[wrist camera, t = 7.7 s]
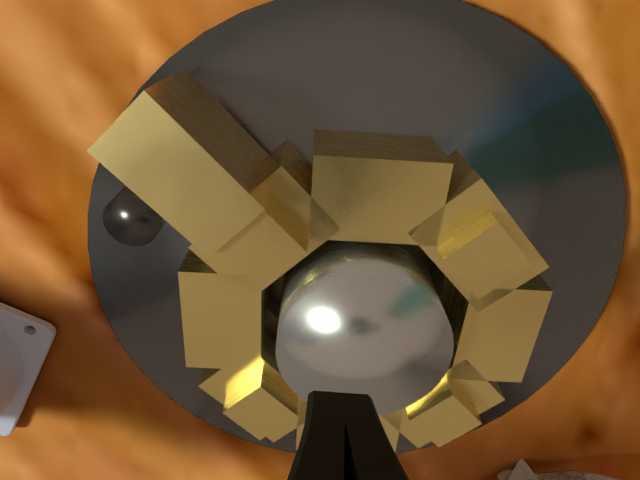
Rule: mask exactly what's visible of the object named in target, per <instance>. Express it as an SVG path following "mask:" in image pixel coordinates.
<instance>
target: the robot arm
mask: <svg viewBox="0 0 640 480" xmlns="http://www.w3.org/2000/svg"><path fill="white" fill-rule="evenodd" d="M30 326H32V327H34V328H35V329H32V328H31V327H30ZM55 335H56V329H55V327H54V326H53V325H52V324H50V323H49V322H46V321H44V320H42V319H39V318H37V317H34V316H32V315H30V314H27V313H25V312H22V311H20V310H18V309H15V308H13V307H11V306H8V305H6V304H3V303H1V302H0V435H1V436H7V435H10V434H11V433H12V432H13V430H14V429H15V427H16V425H17V422H18V420H19V418H20V415H21V413H22V411H23V409H24V406H25V404H26V402H27V399H28V397H29V395H30V393H31V390H32V388H33V386H34V383H35V381H36V379H37V377H38V374H39V372H40V370H41V367H42V365H43V363H44V361H45V358H46V356H47V354H48V351H49V349H50V347H51V345H52V342H53V340H54V338H55ZM287 480H409V479H408V477H407V475H406V473H405V472H404V470H403V468H402V466H401V464H400V462H399V460H398V458H397V456H396V454H395V452H394V450H393V448H392V446H391V443H390V441H389V439H388V437H387V435H386V433H385V430H384V428H383V426H382V423H381V421H380V419H379V416H378V414H377V411H376V409H375V406H374V403H373V401H372V398H371V397H370V396H369V395H368V394H355V393H341V392H327V391H312V392H311V393H309V394H308V399H307V407H306V415H305V423H304V428H303V432H302V436H301V439H300V443H299V446H298V449H297V452H296V456H295V459H294V462H293V465H292V468H291V471H290V474H289V476H288V479H287Z"/></svg>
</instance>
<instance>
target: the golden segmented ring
mask: <svg viewBox="0 0 640 480" xmlns="http://www.w3.org/2000/svg"><path fill="white" fill-rule="evenodd" d="M87 152H88V153H89V154H90V155H92V156H93V157H94V158H95V159H96V160H97V161H98V162H100V163H101V164H102V165H103V166H104V167H105V168H106V169H108V170H109V171H110V172H111V173H112V174H113V175H114V176H116V177H117V178H118V179H119V180H120V181H121V182H122V183H123V184H125V185H126V186H127V187H128V188H129V189H130V190H131V191H133V192H134V193H135V194H136V195H137V196H138V197H139V198H141V199H142V200H143V201H144V202H145V203H146V204H147V205H149V206H150V207H151V208H152V209H153V210H154V211H155V212H157V213H158V214H159V215H160V216H161V217H162V218H163V219H164V220H166V221H167V222H168V223H169V224H170V225H171V226H172V227H174V228H175V229H176V230H177V231H178V232H179V233H180V234H182V235H183V236H184V237H185V238H186V239H187V240H188V241H190V242H191V243H190V245H189V247H188V248H189V250H188V252H187V254H186V256H185V258H184V260H183V262H182V264H181V266H180V268H179V270H178V279H179V291H180V303H181V314H182V326H183V337H184V349H185V361H186V367H194V368H203V371H202V375H201V378H200V381H199V385H198V387H200V388H201V389H202V390H204V391H205V392H206V393H208V394H209V395H211V396H212V397H213V398H215V399H216V400H217V401H219V402H220V403H221V404H223V405H224V408H223V412H222V413H223V414H225V415H226V416H227V417H229V418H230V419H231V420H233V421H234V422H235V423H237V424H238V425H240V426H241V427H242V428H244V429H245V430H246V431H248V432H249V433H250V434H252V435H253V436H254V437H256V438H257V439H259V440H261V439H263V438H264V437H267V438H268V439H270V440H271V441H272V442H275V441H277V440H278V439H280V438H281V437H283V436H285V435H286V434H288V433H289V432H291V431H292V430H294V429H296V428H297V436H296V450H297V449H298V446H299V443H300V439H301V436H302V432H303V428H304V423H305V415H306V407H307V402H306V401H304V400H303V399H301V398H300V397H299V396H298V395H297V394H295V393H294V392H293V391H292V390H291V388H290V387H289V386H288V385H287V384H286V382H285V381H284V379H283V377H282V375H281V373H280V371H279V368H278V365H277V361H276V353H275V351H276V338H277V330H278V322H279V319H278V318H277V317H275V316H274V315H273V314H272V313H271V312H270V311H269V310H268V296H269V285H270V284H271V283H273V282H274V281H275V280H277V279H278V278H279V277H280V276H282V275H283V274H284V273H286V272H287V271H288V270H289V269H291V268H292V267H293V266H295V265H296V264H297V263H298V262H300V261H301V260H302V259H304V258H305V257H306V256H307V255H309V254H310V253H311V252H313V251H314V250H315V249H316V248H318V247H319V246H320V245H322V244H323V243H324V242H326V241H327V240H338V241H356V242H374V243H392V244H410V245H419V246H420V247H421V249H422V250H423V251H424V252H425V253H426V254H427V255H428V256H429V258H430V259H431V260H432V261H433V262H434V263H435V264H436V265H437V267H438V268H439V269H440V270H441V271H442V272H443V273H444V274H445V275H444V280H443V284H442V289H441V293H440V300H441V303H442V305H443V308H444V310H445V313H446V315H447V318H448V320H449V323H450V325H451V329H452V333H453V339H454V349H453V356H452V359H451V363H450V365H449V368H448V370H447V372H446V374H445V375H444V377H443V378H442V380H441V381H440V382H439V383H438V385H437V386H436V387H435V388H434V389H433V390H432V391H431V392H430V393H428V394H427V395H426V396H424V397H423V398H422V399H420V400H419V401H417V402H415V403H414V404H412V405H410V406H408V407H405V408H403V409H401V410H398V411H395V412H392V413H388V414H383V415H378V416H379V419H380V421H381V423H382V426H383V428H384V430H385V433H386V435H387V437H388V439H389V441H390V443H391V446H392V448H393V450H394V452H395V451H396V446H397V441H398V436H399V432H400V433H401V434H403V435H404V436H405V437H406V438H407V439H408V440H409V441H411V442H412V443H413V444H414V445H415V446H416V447H417V448H420V447H422V446H423V445H425V444H427V443H429V442H431V441H432V442H433V443H434V444H435V445H436V446H438V447H441V446H443V445H445V444H447V443H448V442H450V441H452V440H454V439H456V438H458V437H459V436H461V435H463V434H465V433H467V432H468V431H470V430H472V429H474V428H476V427H478V426H479V425H481V424H482V422H481V420H480V417H479V414H481V413H483V412H484V411H486V410H488V409H490V408H492V407H493V406H495V405H497V404H499V403H500V402H502V401H504V400H505V398H504V396H503V394H502V392H501V390H500V387H499V385H498V383H497V381H500V382H522V379H523V376H524V373H525V370H526V368H527V365H528V362H529V359H530V356H531V353H532V350H533V347H534V345H535V342H536V339H537V336H538V333H539V330H540V327H541V324H542V322H543V319H544V316H545V313H546V310H547V307H548V304H549V301H550V299H551V296H552V293H553V291H552V289H551V288H550V287H549V286H548V284H547V283H546V282H545V281H544V279H543V278H542V277H541V275H540V273H541V272H543V271H544V270H546V269H548V268H549V266H548V265H547V263H546V262H545V261H544V259H543V258H542V257H541V255H540V254H539V253H538V251H537V250H536V249H535V247H534V246H533V245H532V243H531V242H530V241H529V240H528V238H527V237H526V236H525V234H524V233H523V232H522V230H521V229H520V228H519V226H518V225H517V224H516V222H515V221H514V220H513V219H512V217H511V216H510V215H509V213H508V212H507V211H506V209H505V208H504V207H503V205H502V204H501V203H500V201H499V200H498V199H497V198H496V196H495V195H494V194H493V192H492V191H491V190H490V188H489V187H488V186H487V184H486V183H485V182H484V180H483V179H482V178H481V177H480V176H479V174H478V173H477V172H476V171H475V170H474V169H473V168H472V167H471V165H470V164H469V163H468V162H467V161H466V160H465V159H464V158H463V156H462V155H461V154H460V153H459V152H458V151H457V150H455V151H453V152H452V153H451V154H449V155H448V156H447V155H446V153H445V152H444V151H443V150H442V148H441V147H440V146H439V145H438V143H437V142H436V141H435V140H434V138H433V137H427V136H411V135H396V134H380V133H364V132H348V131H332V130H316V129H314V142H313V159H312V165H311V164H310V163H309V162H308V161H307V160H306V159H305V157H304V156H303V155H302V154H301V153H300V152H299V151H298V150H297V149H296V148H295V147H294V146H293V144H292V143H291V142H290V141H289V140H288V139H286V140H285V141H284V142H283V143H282V144H281V145H280V146H279V147H277V148H276V149H275V150H274V151H273V152H272V153H271V154H270V155H269V154H268V153H267V152H266V151H265V150H264V149H263V148H262V147H261V146H260V145H259V144H258V143H257V142H256V141H255V140H254V139H253V138H252V137H251V136H250V135H249V134H248V133H247V131H246V130H245V129H244V128H243V127H242V126H241V125H240V124H239V123H238V122H237V121H236V120H235V119H234V118H233V117H232V116H231V115H230V114H229V113H228V112H227V111H226V110H225V109H224V108H223V106H222V105H221V104H220V103H219V102H218V101H217V100H216V99H215V98H214V97H213V96H212V95H211V94H210V93H209V92H208V91H207V90H206V89H205V88H204V87H203V86H202V85H201V84H200V82H199V81H198V80H197V79H196V78H195V77H194V76H193V75H192V74H191V73H190V72H189V71H188V70H187V69H186V68H183V69H181V70H179V71H177V72H176V73H174V74H172V75H170V76H168V77H167V78H165V79H163V80H161V81H159V82H158V83H156V84H154V85H152V86H151V87H149V88H147V89H145V90H144V91H143V92H142V93H141V94H140V95H139V96H138V97H137V98H136V99H135V100H134V101H133V102H132V103H131V104H130V106H129V107H128V108H127V109H126V110H125V111H124V112H123V113H122V114H121V115H120V116H119V117H118V118H117V119H116V120H115V122H114V123H113V124H112V125H111V126H110V127H109V128H108V129H107V130H106V131H105V132H104V133H103V134H102V135H101V136H100V138H99V139H98V140H97V141H96V142H95V143H94V144H93V145H92V146H91V147H90V148H89V149H88V150H87Z"/></svg>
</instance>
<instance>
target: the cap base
mask: <svg viewBox="0 0 640 480" xmlns="http://www.w3.org/2000/svg"><path fill="white" fill-rule="evenodd" d="M183 68H186V69H187V70H188V71H189V72H190V73H191V74H192V75H193V76H194V77H195V78H196V79H197V80H198V81H199V82H200V84H201V85H202V86H203V87H204V88H205V89H206V90H207V91H208V92H209V93H210V94H211V95H212V96H213V97H214V98H215V99H216V100H217V101H218V102H219V103H220V104H221V105H222V106H223V108H224V109H225V110H226V111H227V112H228V113H229V114H230V115H231V116H232V117H233V118H234V119H235V120H236V121H237V122H238V123H239V124H240V125H241V126H242V127H243V128H244V129H245V130H246V131H247V133H248V134H249V135H250V136H251V137H252V138H253V139H254V140H255V141H256V142H257V143H258V144H259V145H260V146H261V147H262V148H263V149H264V150H265V151H266V152H267V153H268V154H269V155H270V154H271V153H272V152H273V151H274V150H275V149H276V148H277V147H279V146H280V145H281V144H282V143H283V142H284V141H285V140H286V139H288V140H289V141H290V142H291V143H292V144H293V146H294V147H295V148H296V149H297V150H298V151H299V152H300V153H301V154H302V155H303V156H304V157H305V159H306V160H307V161H308V162H309V163H310V164H311V165H312V159H313V142H314V129H316V130H332V131H348V132H364V133H380V134H396V135H411V136H427V137H433V138H434V140H435V141H436V142H437V143H438V145H439V146H440V147H441V148H442V150H443V151H444V152H445V153H446V155H447V156H448V155H449V154H451V153H452V152H453V151H455V150H457V151H458V152H459V153H460V154H461V155H462V156H463V158H464V159H465V160H466V161H467V162H468V163H469V164H470V165H471V167H472V168H473V169H474V170H475V171H476V172H477V173H478V174H479V176H480V177H481V178H482V179H483V180H484V182H485V183H486V184H487V186H488V187H489V188H490V190H491V191H492V192H493V194H494V195H495V196H496V198H497V199H498V200H499V201H500V203H501V204H502V205H503V207H504V208H505V209H506V211H507V212H508V213H509V215H510V216H511V217H512V219H513V220H514V221H515V222H516V224H517V225H518V226H519V228H520V229H521V230H522V232H523V233H524V234H525V236H526V237H527V238H528V240H529V241H530V242H531V243H532V245H533V246H534V247H535V249H536V250H537V251H538V253H539V254H540V255H541V257H542V258H543V259H544V261H545V262H546V263H547V265H548V266H549V268H548V269H546V270H544V271H543V272H541V273H540V275H541V277H542V278H543V279H544V281H545V282H546V283H547V284H548V286H549V287H550V288H551V289H552V291H553V293H552V296H551V299H550V301H549V304H548V307H547V310H546V313H545V316H544V319H543V322H542V324H541V327H540V330H539V333H538V336H537V339H536V342H535V345H534V347H533V350H532V353H531V356H530V359H529V362H528V365H527V368H526V370H525V373H524V376H523V379H522V382H500V381H497V383H498V385H499V387H500V390H501V392H502V394H503V396H504V398H505V400H504V401H502V402H500V403H499V404H497V405H495V406H493V407H492V408H490V409H488V410H486V411H484V412H483V413H481V414H479V417H480V420H481V422H482V424H481V425H479V426H478V427H476V428H474V429H472V430H470V431H473V430H475V429H478V428H480V427H481V426H483V425H485V424H487V423H489V422H491V421H493V420H495V419H497V418H498V417H500V416H502V415H504V414H505V413H507V412H508V411H510V410H511V409H513V408H514V407H516V406H517V405H519V404H520V403H522V402H523V401H525V400H526V399H528V398H529V397H530V396H531V395H532V394H534V393H535V392H536V391H537V390H538V389H540V388H541V387H542V386H543V385H545V384H546V383H547V382H548V381H549V380H550V379H551V378H552V377H553V376H554V375H555V374H556V373H557V372H558V371H559V370H560V369H561V368H562V367H563V366H564V365H565V364H566V363H567V362H568V361H569V360H570V358H571V357H572V356H573V354H574V353H575V352H576V351H577V349H578V348H579V347H580V345H581V344H582V343H583V342H584V340H585V339H586V338H587V336H588V334H589V333H590V331H591V329H592V328H593V326H594V324H595V323H596V321H597V319H598V318H599V316H600V314H601V313H602V311H603V308H604V306H605V304H606V302H607V299H608V297H609V295H610V292H611V290H612V288H613V286H614V282H615V279H616V275H617V272H618V268H619V265H620V261H621V258H622V253H623V245H624V238H625V230H626V192H625V187H624V181H623V176H622V170H621V165H620V159H619V157H618V154H617V151H616V148H615V146H614V143H613V140H612V137H611V134H610V132H609V129H608V126H607V125H606V123H605V121H604V119H603V118H602V116H601V114H600V112H599V110H598V109H597V107H596V105H595V103H594V102H593V100H592V98H591V96H590V95H589V94H588V92H587V91H586V90H585V89H584V87H583V86H582V85H581V84H580V82H579V81H578V80H577V79H576V77H575V76H574V75H573V74H572V73H571V71H570V70H569V69H568V68H567V66H566V65H564V64H563V63H562V62H561V61H560V60H559V59H558V58H557V57H555V56H554V55H553V54H552V53H551V52H550V51H549V50H548V49H546V48H545V47H544V46H543V45H542V44H541V43H540V42H538V41H537V40H536V39H534V38H533V37H531V36H530V35H528V34H527V33H525V32H523V31H522V30H520V29H519V28H517V27H515V26H514V25H512V24H511V23H509V22H507V21H506V20H504V19H503V18H501V17H498V16H496V15H494V14H491V13H489V12H487V11H484V10H482V9H480V8H477V7H475V6H473V5H470V4H468V3H466V2H463V1H460V0H274V1H271V2H268V3H266V4H263V5H260V6H257V7H254V8H252V9H249V10H246V11H243V12H241V13H239V14H237V15H235V16H233V17H232V18H230V19H228V20H226V21H224V22H222V23H220V24H219V25H217V26H215V27H213V28H211V29H209V30H207V31H206V32H204V33H202V34H201V35H200V36H198V37H197V38H196V39H194V40H193V41H192V42H190V43H189V44H188V45H186V46H185V47H184V48H182V49H181V50H180V51H178V52H177V53H176V54H174V55H173V56H172V57H170V58H169V59H168V60H167V61H166V62H165V63H164V64H163V65H162V66H161V67H160V68H159V69H158V70H157V71H156V72H155V73H154V74H153V75H152V76H151V77H150V78H149V80H148V81H147V82H146V83H145V84H144V85H143V86H142V87H141V88H140V89H139V91H138V92H137V94H136V95H135V96H134V98H133V99H132V101H131V102H130V103H129V105H128V106H127V108H128V107H129V106H130V104H131V103H132V102H133V101H134V100H135V99H136V98H137V97H138V96H139V95H140V94H141V93H142V92H143V91H144V90H145V89H147V88H149V87H151V86H152V85H154V84H156V83H158V82H159V81H161V80H163V79H165V78H167V77H168V76H170V75H172V74H174V73H176V72H177V71H179V70H181V69H183ZM127 108H126V109H127ZM126 109H125V110H126ZM125 110H124V111H125ZM125 186H126V185H125V184H123V183H122V182H121V181H120V180H119V179H118V178H117V177H116V176H114V175H113V174H112V173H111V172H110V171H109V170H108V169H106V168H105V167H104V166H103V165H102V164H101V163H100V162H99V164H98V168H97V171H96V174H95V177H94V180H93V184H92V190H91V197H90V204H89V210H88V251H89V258H90V264H91V270H92V276H93V280H94V283H95V287H96V290H97V293H98V296H99V299H100V303H101V306H102V308H103V310H104V312H105V314H106V316H107V318H108V321H109V323H110V325H111V327H112V329H113V331H114V333H115V334H116V336H117V337H118V339H119V341H120V342H121V344H122V345H123V347H124V348H125V350H126V351H127V353H128V354H129V356H130V357H131V358H132V359H133V361H134V362H135V363H136V364H137V365H138V366H139V368H140V369H141V370H142V371H143V372H144V374H145V375H146V376H147V377H148V378H149V379H150V380H151V381H152V382H153V383H154V384H155V385H157V386H158V387H159V388H160V389H161V390H162V391H163V392H164V393H165V394H166V395H167V396H169V397H170V398H171V399H173V400H174V401H175V402H177V403H178V404H179V405H181V406H182V407H183V408H185V409H186V410H188V411H189V412H190V413H192V414H194V415H195V416H197V417H199V418H201V419H202V420H204V421H206V422H207V423H209V424H211V425H213V426H215V427H217V428H219V429H221V430H223V431H226V432H228V433H230V434H232V435H234V436H237V437H239V438H242V439H245V440H248V441H251V442H254V443H257V444H259V445H262V446H266V447H270V448H274V449H279V450H283V451H287V452H292V453H296V452H297V450H296V436H297V428H296V429H294V430H292V431H291V432H289V433H288V434H286V435H285V436H283V437H281V438H280V439H278V440H277V441H275V442H272V441H271V440H270V439H268V438H267V437H264V438H263V439H261V440H259V439H257V438H256V437H254V436H253V435H252V434H250V433H249V432H248V431H246V430H245V429H244V428H242V427H241V426H240V425H238V424H237V423H235V422H234V421H233V420H231V419H230V418H229V417H227V416H226V415H225V414H223V413H222V412H223V408H224V405H223V404H221V403H220V402H219V401H217V400H216V399H215V398H213V397H212V396H211V395H209V394H208V393H206V392H205V391H204V390H202V389H201V388H200V387H198V385H199V381H200V378H201V375H202V371H203V368H194V367H186V361H185V349H184V337H183V326H182V314H181V303H180V291H179V279H178V270H179V268H180V266H181V264H182V262H183V260H184V258H185V256H186V254H187V252H188V250H189V248H188V247H189V245H190V243H191V242H190V241H188V240H187V239H186V238H185V237H184V236H183V235H182V234H180V233H179V232H178V231H177V230H176V229H175V228H174V227H172V226H171V225H170V224H169V223H168V222H167V221H166V222H165V224H164V225H163V227H162V228H161V230H160V231H159V233H158V234H157V236H156V237H155V239H154V240H153V241H152V242H150V243H149V244H146V245H144V246H138V247H134V246H128V245H124V244H122V243H120V242H118V241H117V240H115V239H114V238H113V237H112V236H111V235H110V234H109V233H108V232H107V230H106V228H105V226H104V223H103V212H104V209H105V207H106V205H107V204H108V203H109V202H110V201H111V200H112V199H113V198H114V197H115V196H116V195H117V194H118V193H119V192H120V191H121V190H122V189H123V188H124V187H125ZM444 275H445V274H444V273H443V272H442V271H441V270H440V269H439V268H438V267H437V265H436V264H435V263H434V262H433V261H432V260H431V259H430V258H429V256H428V255H427V254H426V253H425V252H424V251H423V250H422V249H421V247H420V246H419V245H410V244H392V243H374V242H356V241H338V240H327V241H326V242H324V243H323V244H322V245H320V246H319V247H318V248H316V249H315V250H314V251H313V252H311V253H310V254H309V255H307V256H306V257H305V258H304V259H302V260H301V261H300V262H298V263H297V264H296V265H295V266H293V267H292V268H291V269H289V270H288V271H287V272H286V273H284V274H283V275H282V276H280V277H279V278H278V279H277V280H275V281H274V282H273V283H271V284H270V285H269V296H268V310H269V311H270V312H271V313H272V314H273V315H274V316H275V317H277V318H278V319H279V322H278V330H277V338H276V351H275V353H276V361H277V365H278V368H279V371H280V373H281V375H282V377H283V379H284V381H285V382H286V384H287V385H288V386H289V387H290V388H291V390H292V391H293V392H294V393H295V394H297V395H298V396H299V397H300V398H301V399H303V400H304V401H306V402H307V399H308V394H309V393H311V392H312V391H327V392H341V393H355V394H368V395H369V396H370V397H371V398H372V401H373V403H374V406H375V409H376V411H377V414H378V415H383V414H388V413H392V412H395V411H398V410H401V409H403V408H405V407H408V406H410V405H412V404H414V403H415V402H417V401H419V400H420V399H422V398H423V397H424V396H426V395H427V394H428V393H430V392H431V391H432V390H433V389H434V388H435V387H436V386H437V385H438V383H439V382H440V381H441V380H442V378H443V377H444V375H445V374H446V372H447V370H448V368H449V365H450V363H451V359H452V356H453V349H454V339H453V333H452V329H451V325H450V323H449V320H448V318H447V315H446V313H445V310H444V308H443V305H442V303H441V300H440V293H441V289H442V284H443V280H444ZM470 431H468V432H470ZM468 432H467V433H468ZM465 434H466V433H465ZM432 445H435V444H434V443H433V442H432V441H431V442H429V443H427V444H425V445H423V446H422V447H420V448H417V447H416V446H415V445H414V444H413V443H412V442H411V441H409V440H408V439H407V438H406V437H405V436H404V435H403V434H401V433H400V432H399V436H398V441H397V446H396V451H395V454H396V453H402V452H407V451H411V450H416V449H421V448H425V447H428V446H432Z"/></svg>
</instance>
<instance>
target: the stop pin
mask: <svg viewBox="0 0 640 480" xmlns="http://www.w3.org/2000/svg"><path fill="white" fill-rule="evenodd" d="M165 222H166V220H164V219H163V218H162V217H161V216H160V215H159V214H158V213H157V212H155V211H154V210H153V209H152V208H151V207H150V206H149V205H147V204H146V203H145V202H144V201H143V200H142V199H141V198H139V197H138V196H137V195H136V194H135V193H134V192H133V191H131V190H130V189H129V188H128V187H127V186H125V187H124V188H123V189H122V190H121V191H120V192H119V193H118V194H117V195H116V196H115V197H114V198H113V199H112V200H111V201H110V202H109V203H108V204H107V205H106V207H105V209H104V212H103V223H104V226H105V228H106V230H107V232H108V233H109V234H110V235H111V236H112V237H113V238H114V239H115V240H117V241H118V242H120V243H122V244H124V245H128V246H134V247H138V246H144V245H146V244H149V243H150V242H152V241H153V240H154V239H155V237H156V236H157V234H158V233H159V231H160V230H161V228H162V227H163V225H164V224H165Z"/></svg>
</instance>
